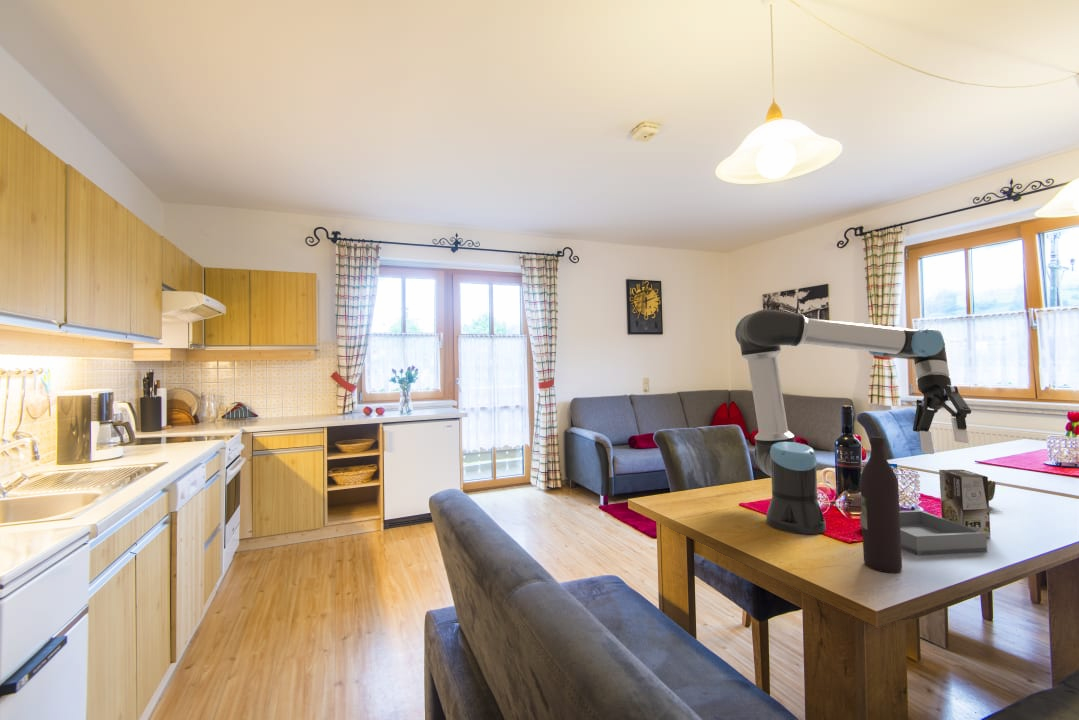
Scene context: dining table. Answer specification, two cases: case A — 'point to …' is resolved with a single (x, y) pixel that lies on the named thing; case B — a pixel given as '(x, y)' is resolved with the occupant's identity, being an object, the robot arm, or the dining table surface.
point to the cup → (991, 489)
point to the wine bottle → (880, 512)
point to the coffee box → (965, 499)
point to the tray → (937, 535)
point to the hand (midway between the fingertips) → (944, 447)
